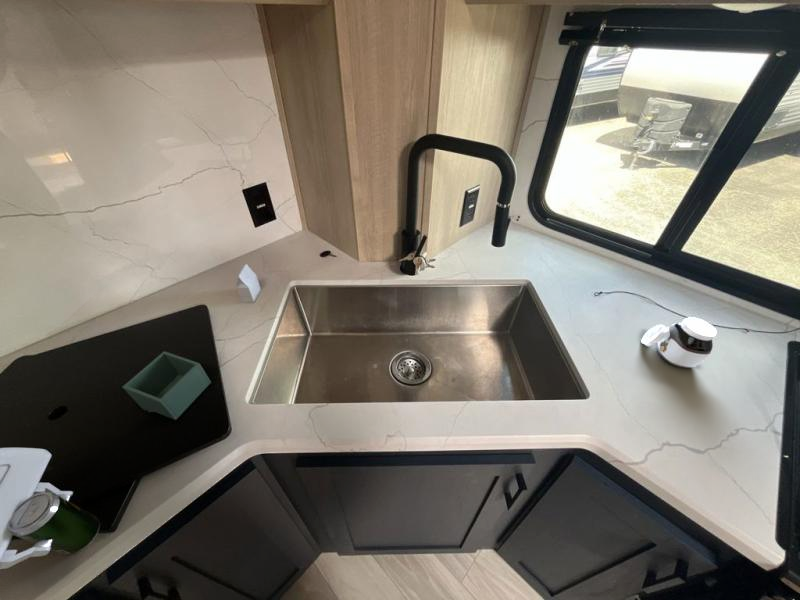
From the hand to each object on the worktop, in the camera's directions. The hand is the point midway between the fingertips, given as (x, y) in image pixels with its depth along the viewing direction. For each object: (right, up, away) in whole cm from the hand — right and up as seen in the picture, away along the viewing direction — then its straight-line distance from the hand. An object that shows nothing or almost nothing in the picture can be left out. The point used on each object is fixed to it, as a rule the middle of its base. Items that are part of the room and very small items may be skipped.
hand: (61, 521), depth 49 cm
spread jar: (+125, +19, +39) cm, 132 cm away
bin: (+1, +11, +25) cm, 28 cm away
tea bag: (+5, +35, +53) cm, 64 cm away
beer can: (-1, -5, +4) cm, 7 cm away
